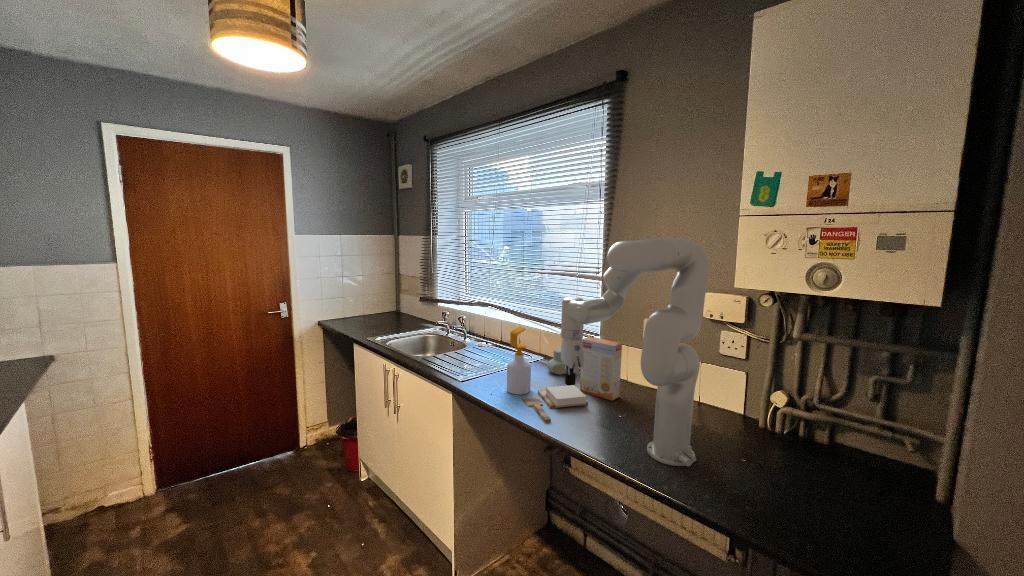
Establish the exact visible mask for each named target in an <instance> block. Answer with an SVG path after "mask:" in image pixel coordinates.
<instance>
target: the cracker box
mask: <svg viewBox="0 0 1024 576" xmlns="http://www.w3.org/2000/svg"><path fill="white" fill-rule="evenodd" d="M582 340H583V350H584V366H583V367H582V368H581V367H580V383H579V384H580V385H579V388H580V389H579V390H580V391H581V392H582V393H584V394H589V395H591V396H594V397H598V398H602V399H605V400H608V401H612V402H613V401H614V400H616V399H618V398H620V391H621V390H620V389H621V370H622V369H621V368H622V352H623V351H622V349H623V343H622V342H618V341H613V340H609V339H604V338H597V337H593V336H588V337H583V339H582Z"/></svg>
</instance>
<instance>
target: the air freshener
mask: <svg viewBox="0 0 1024 576" xmlns="http://www.w3.org/2000/svg"><path fill="white" fill-rule="evenodd" d="M546 365H547V369H548V371H550V373H553V374H555V375H558V376H563V375H565V373H566V372H565V364H564V363H563V362H562V360H561V347H560V348H554V349H553V358H551V359H549V361H548V362H547V364H546Z"/></svg>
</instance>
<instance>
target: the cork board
mask: <svg viewBox="0 0 1024 576" xmlns="http://www.w3.org/2000/svg"><path fill="white" fill-rule="evenodd" d="M537 394H538V395H539V397H540V398H541V399H542V400H543V401H544V402H545V404H546V405H547V406H548V407H549V409H558V408H561V407H556V406H555V405H554V404H553V403H552V402H551V400H550V399H549V398H548V397H547V396H546V389H541V390H537ZM588 404H589V402H588V401H587V400H586V405H587V406H589V405H588ZM586 405H585V406H586ZM577 406H579V407H580V406H581V405H577ZM577 406H576V407H577ZM568 407H571V406H566V407H565V408H568Z"/></svg>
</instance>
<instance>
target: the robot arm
mask: <svg viewBox="0 0 1024 576" xmlns="http://www.w3.org/2000/svg"><path fill="white" fill-rule="evenodd" d="M709 259H710V258H709V257H708V254H707V252H706V251H705V249H704V248H703V247H702V246H701V245H700V244H699V243H697V242H696V241H693V240H691V239H688V238H683V237H663V238H659V237H657V238H656V237H655V238H646V239H636V240H620V241H617V242H615V243H613V244H612V245H611V246H610V248H609V249H608V251H607V257H606V261H607V264H608V266H609V267H608V269H606V271H605V272H604V273H603V275H602V279H603V283H604V284H605V286H606V287H607V288H608V289H607V290H606V291H605V292H604V294H603V295H602V296H601V297H600V298H595V299H588V300H587V299H586V300H584V298H581V297H578V296H567V297H564V298H563V299H562V300H561V301H562V302H561V322H560V323H561V324H560V325H561V326H560V327H561V328H560V329H561V330H560V337H561V342H560V343H561V345H560V348H561V360H562V362H563V363H564V364H565V372H566V373H565V374H564V385H565V386H569V385H575V386H576V375H577V373H580V372H579V370H580V369H581V368H582V367H583V366H584V350H583V340H582V339H584V325H589V324H595V323H598V322H605V321H607V320H609V319H611V318H613V316H615V314H616V313H617V312H618V311H619V310H620V309H621V308H622V306H623V305H624V303H625V301H626V297H627V291H628V290H629V289H630V288H631V287H632V285H633V284H634V283H635V282H636V281H637V280H638V279H639V278H640V276H641V275H642V274H643V273H646V272H647V273H649V272H650V273H653V272H654V273H655V272H656V273H657V272H668V271H676V275H675V278H674V280H673V282H672V284H671V286H670V293H669V299H668V304H667V307H662V308H659V309H656V310H654V311H653V312H652V313H651V314H650V316H649V317H648V318H647V319H646V323H645V327H644V332H643V333H644V334H643V339H642V345H641V346H642V347H641V354H640V355H641V356H640V370H641V371H640V372H641V374H642V376H643V378H644V379H645V380H646V382H648V384H650V385H652V386H656V395H655V396H656V397H655V408H654V425H653V436H652V437H653V440H652V441H649V442H648V443H647V446H646V451H647V454H648V455H649V456H650V457H651V458H652V459H654V460H655V461H657V462H659V463H661V464H665V465H669V466H673V467H674V466H675V467H685V466H686V467H690V466H692V464H693V463H694V462H696V461H697V457H696V454H695V451H694V450H693V449H692V448H693V446H692V445H691V434H692V423H693V411H694V410H693V409H694V401H695V399H694V398H695V390H696V385H697V381H698V377H699V374H700V373H699V372H700V369H701V368H700V367H701V361H700V360H701V359H700V357H699V353H697V351H696V349H695V348H694V347H692V346H691V345H689V344H686V343H684V342H687V341H690V340H693V339H694V338H696V337H697V336H698V335H699V333H700V331H701V327H702V321H703V315H704V314H703V313H704V308H705V301H706V294H707V293H706V292H707V287H708V282H709V277H710V269H711V267H710V265H711V264H710V260H709ZM579 368H580V369H579Z"/></svg>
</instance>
